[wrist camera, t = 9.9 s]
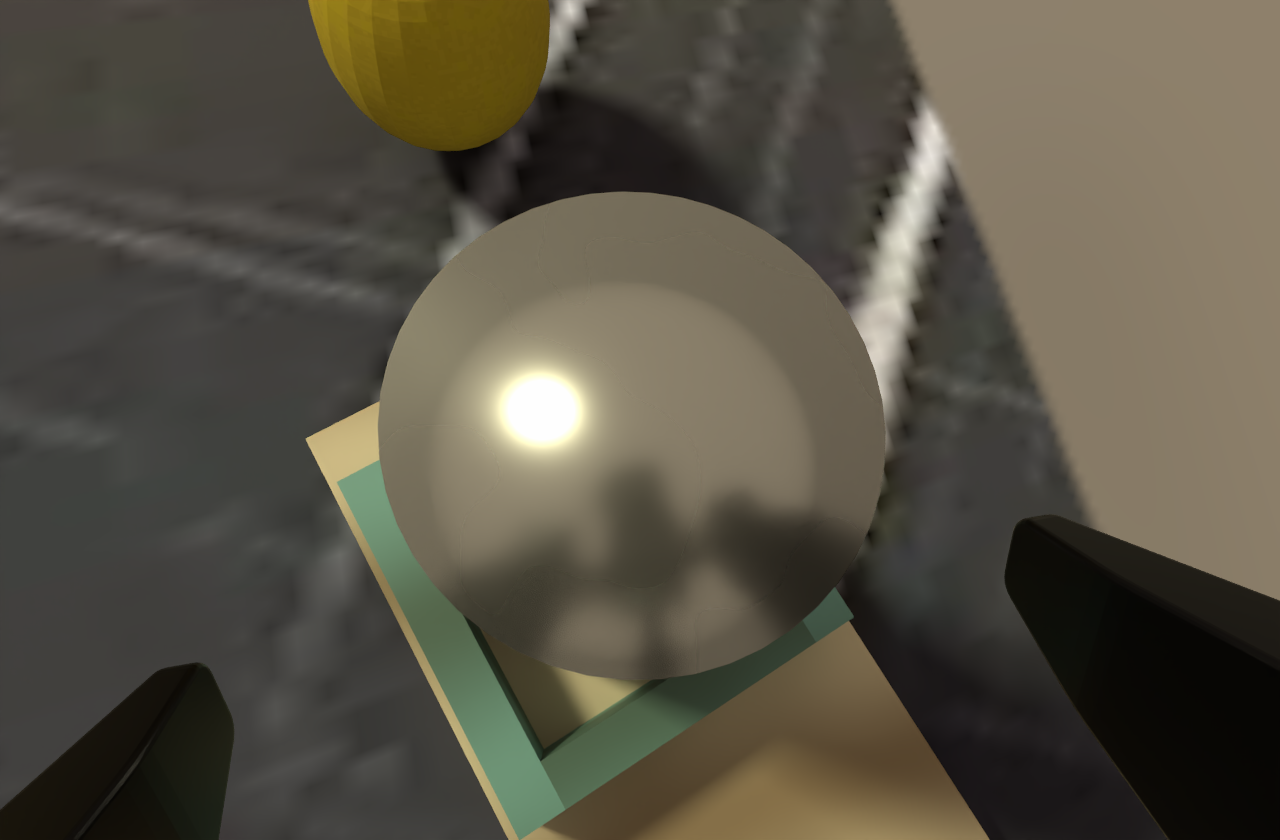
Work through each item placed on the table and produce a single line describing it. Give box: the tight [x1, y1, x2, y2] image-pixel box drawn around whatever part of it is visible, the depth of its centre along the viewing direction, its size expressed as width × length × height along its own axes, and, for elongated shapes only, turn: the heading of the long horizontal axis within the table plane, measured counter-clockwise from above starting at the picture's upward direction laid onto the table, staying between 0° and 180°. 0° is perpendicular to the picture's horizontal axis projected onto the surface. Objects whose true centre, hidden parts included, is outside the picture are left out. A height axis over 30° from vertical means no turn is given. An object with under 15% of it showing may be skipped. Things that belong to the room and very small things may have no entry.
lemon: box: [309, 0, 550, 151], centre depth 19 cm, size 6×6×8 cm
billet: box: [378, 192, 885, 680], centre depth 12 cm, size 4×4×12 cm
